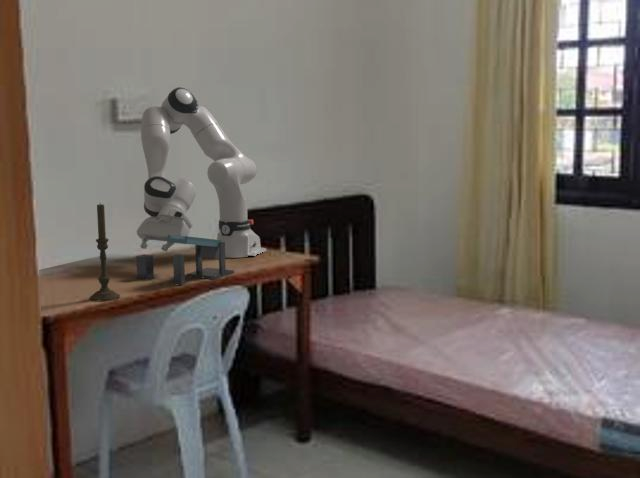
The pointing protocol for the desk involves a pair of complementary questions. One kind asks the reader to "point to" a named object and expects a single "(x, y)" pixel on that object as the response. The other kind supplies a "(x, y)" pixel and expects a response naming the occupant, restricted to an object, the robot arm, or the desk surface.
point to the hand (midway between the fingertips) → (153, 248)
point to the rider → (145, 266)
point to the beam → (207, 245)
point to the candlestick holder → (103, 259)
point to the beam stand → (200, 266)
